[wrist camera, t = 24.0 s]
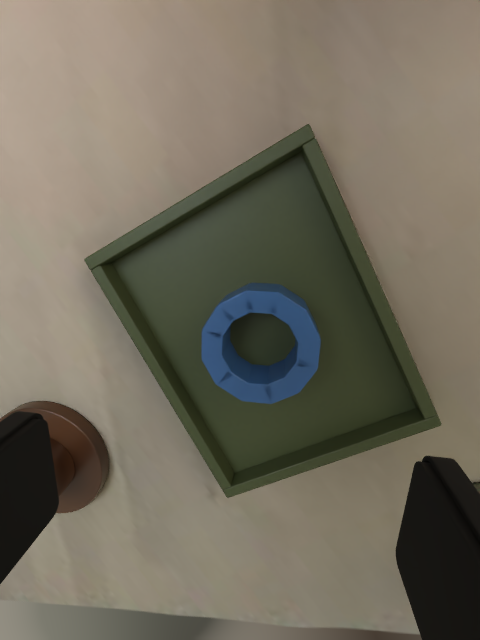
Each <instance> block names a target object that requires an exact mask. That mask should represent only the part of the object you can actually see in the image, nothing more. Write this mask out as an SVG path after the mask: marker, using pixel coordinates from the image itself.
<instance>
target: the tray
mask: <svg viewBox="0 0 480 640" xmlns="http://www.w3.org/2000/svg"><path fill="white" fill-rule="evenodd" d="M84 260H85V262H86V264H87V265H88V267H89V269H90V270H91V272H92V274H93V275H94V277H95V279H96V280H97V282H98V284H99V285H100V287H101V289H102V290H103V292H104V294H105V295H106V297H107V299H108V300H109V302H110V304H111V305H112V307H113V309H114V310H115V312H116V314H117V315H118V317H119V319H120V320H121V322H122V324H123V325H124V327H125V329H126V330H127V332H128V334H129V335H130V337H131V339H132V340H133V342H134V344H135V345H136V347H137V349H138V350H139V352H140V354H141V355H142V357H143V359H144V360H145V362H146V364H147V365H148V367H149V369H150V370H151V372H152V374H153V375H154V377H155V379H156V380H157V382H158V384H159V385H160V387H161V389H162V390H163V392H164V394H165V395H166V397H167V399H168V400H169V402H170V404H171V405H172V407H173V409H174V410H175V412H176V414H177V415H178V417H179V419H180V420H181V422H182V424H183V425H184V427H185V429H186V430H187V432H188V434H189V435H190V437H191V439H192V440H193V442H194V444H195V445H196V447H197V449H198V450H199V452H200V454H201V455H202V457H203V459H204V460H205V462H206V464H207V465H208V467H209V469H210V470H211V472H212V474H213V475H214V477H215V479H216V480H217V482H218V484H219V485H220V487H221V489H223V492H224V493H225V495H226V497H227V498H229V497H232V496H235V495H238V494H241V493H244V492H246V491H249V490H252V489H255V488H258V487H261V486H264V485H267V484H270V483H273V482H276V481H279V480H282V479H285V478H288V477H291V476H294V475H296V474H299V473H302V472H305V471H308V470H311V469H314V468H317V467H320V466H323V465H326V464H329V463H332V462H335V461H338V460H341V459H344V458H347V457H349V456H352V455H355V454H358V453H361V452H364V451H367V450H370V449H373V448H376V447H379V446H382V445H385V444H388V443H391V442H394V441H397V440H399V439H402V438H405V437H408V436H411V435H414V434H417V433H420V432H423V431H426V430H429V429H432V428H435V427H438V426H441V422H440V419H439V417H438V415H437V413H436V410H435V408H434V406H433V403H432V401H431V399H430V397H429V394H428V392H427V390H426V388H425V385H424V383H423V381H422V378H421V376H420V374H419V372H418V369H417V367H416V365H415V363H414V360H413V358H412V356H411V353H410V351H409V349H408V347H407V344H406V342H405V340H404V338H403V335H402V333H401V331H400V328H399V326H398V324H397V322H396V319H395V317H394V315H393V313H392V310H391V308H390V306H389V304H388V301H387V299H386V297H385V294H384V292H383V290H382V288H381V285H380V283H379V281H378V279H377V276H376V274H375V272H374V269H373V267H372V265H371V263H370V260H369V258H368V256H367V254H366V251H365V249H364V247H363V244H362V242H361V240H360V238H359V235H358V233H357V231H356V229H355V226H354V224H353V222H352V220H351V217H350V215H349V213H348V210H347V208H346V206H345V204H344V201H343V199H342V197H341V195H340V192H339V190H338V188H337V185H336V183H335V181H334V179H333V176H332V174H331V172H330V170H329V167H328V165H327V163H326V160H325V158H324V156H323V154H322V151H321V149H320V147H319V145H318V142H317V140H316V139H315V136H314V133H313V131H312V129H311V127H310V125H309V124H307V125H305V126H304V127H302V128H300V129H299V130H297V131H296V132H294V133H292V134H291V135H289V136H287V137H286V138H284V139H282V140H281V141H279V142H277V143H276V144H274V145H272V146H271V147H269V148H267V149H266V150H264V151H262V152H261V153H259V154H257V155H256V156H254V157H252V158H251V159H249V160H248V161H246V162H244V163H243V164H241V165H239V166H238V167H236V168H234V169H233V170H231V171H229V172H228V173H226V174H224V175H223V176H221V177H219V178H218V179H216V180H214V181H213V182H211V183H209V184H208V185H206V186H204V187H203V188H201V189H200V190H198V191H196V192H195V193H193V194H191V195H190V196H188V197H186V198H185V199H183V200H181V201H180V202H178V203H176V204H175V205H173V206H171V207H170V208H168V209H166V210H165V211H163V212H161V213H160V214H158V215H156V216H155V217H153V218H152V219H150V220H148V221H147V222H145V223H143V224H142V225H140V226H138V227H137V228H135V229H133V230H132V231H130V232H128V233H127V234H125V235H123V236H122V237H120V238H118V239H117V240H115V241H113V242H112V243H110V244H108V245H107V246H105V247H104V248H102V249H100V250H99V251H97V252H95V253H94V254H92V255H90V256H89V257H87V258H85V259H84ZM249 283H268V284H280V285H282V286H284V287H285V288H287V289H288V290H290V291H291V292H293V293H294V294H296V295H297V296H299V297H300V298H302V299H303V300H304V301H305V302H306V304H307V306H308V308H309V311H310V313H311V315H312V317H313V319H314V321H315V323H316V325H317V328H318V331H319V334H320V339H321V344H320V354H319V363H318V368H317V371H316V372H315V374H314V375H313V376H312V377H311V379H310V380H309V381H308V382H307V384H306V385H305V386H304V388H303V389H302V390H301V391H300V392H299V393H298V394H295V395H293V396H290V397H288V398H285V399H283V400H280V401H278V402H275V403H273V404H266V403H256V402H246V401H241V400H239V399H238V398H236V397H235V396H233V395H231V394H230V393H228V392H227V391H225V390H224V389H222V388H221V387H219V386H217V385H216V384H215V382H214V381H213V379H212V377H211V375H210V373H209V372H208V370H207V368H206V366H205V365H204V363H203V361H202V328H203V327H204V325H205V324H206V322H207V320H208V319H209V317H210V316H211V314H212V312H213V311H214V309H215V308H216V306H217V305H218V304H219V303H220V302H221V300H222V299H223V298H224V297H225V296H226V295H228V294H229V293H231V292H233V291H235V290H237V289H239V288H241V287H243V286H245V285H247V284H249ZM230 341H231V343H232V345H233V347H234V348H235V350H236V352H237V354H238V356H240V357H241V358H243V359H245V360H246V361H248V362H249V363H251V364H254V365H266V366H270V365H272V364H275V363H277V362H279V361H282V360H284V359H285V358H286V357H287V355H288V354H289V353H290V351H291V350H292V349H293V347H294V346H295V336H294V334H293V332H292V330H291V328H290V326H289V325H288V324H286V323H285V322H283V321H282V320H280V319H279V318H277V317H276V316H274V315H272V314H265V313H249V314H247V315H245V316H243V317H241V318H239V319H236V320H234V321H233V322H232V324H231V328H230Z"/></svg>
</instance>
